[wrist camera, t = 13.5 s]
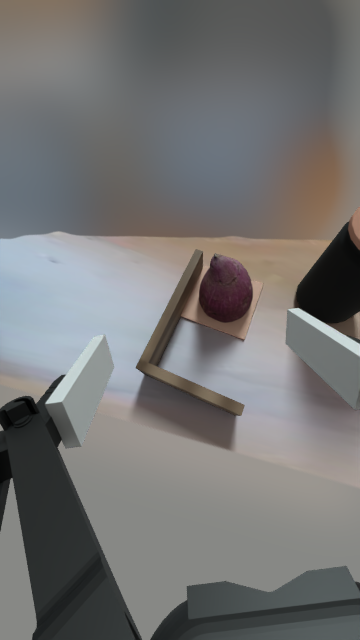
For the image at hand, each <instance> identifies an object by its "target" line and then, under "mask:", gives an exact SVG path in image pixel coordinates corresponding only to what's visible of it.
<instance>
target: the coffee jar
mask: <svg viewBox="0 0 360 640" xmlns="http://www.w3.org/2000/svg"><path fill="white" fill-rule="evenodd" d="M296 295H297V301H298V303H299V305H300V307H301V309H302V310H303V311H304V312H306V313H308V314H309V315H311V316H313V317H315V318H316V319H318V320H320V321H321V322H325V323H338V322H342V321H345V320H347V319H348V318H350V317H352V316H353V315H355V314H356V313H358V312H359V311H360V207H359V208H358V209H357V210H356V211H355V213H354V214H353V216H352V217H351V219H350V221H349V222H347V223H346V224H345V225H344V227H343V228H342V229H341V231H340V232H339V233H338V234H337V236H336V237H335V238H334V240H333V241H332V242H331V243H330V245H329V246H328V247H327V249H326V250H325V251H324V253H323V254H322V255H321V256H320V258H319V259H318V260H317V262H316V263H315V264H314V265H313V267H312V268H311V269H310V271H309V272H308V273H307V275H306V276H305V277H304V278H303V280H302V281H301V282H300V284H299V285H298V288H297V292H296Z"/></svg>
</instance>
